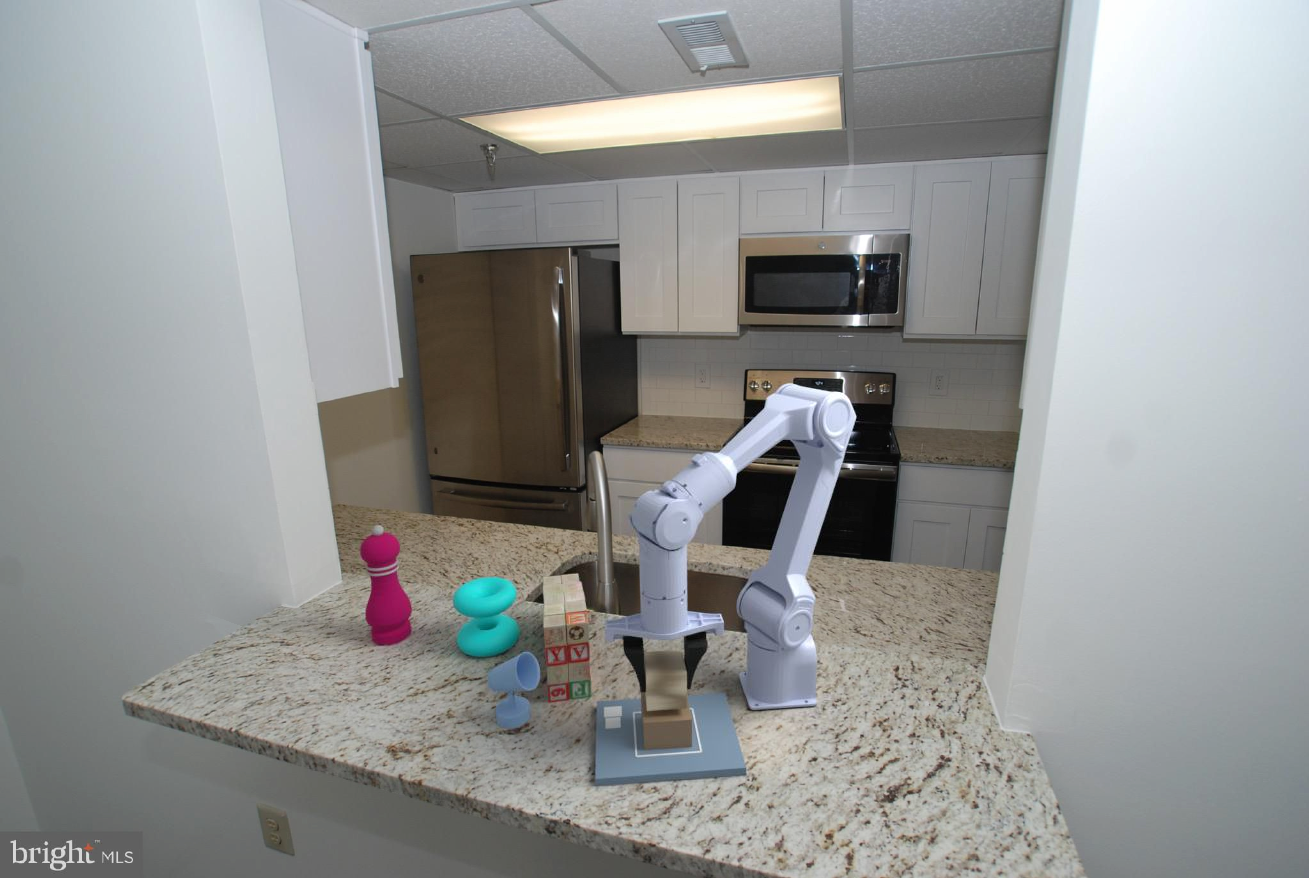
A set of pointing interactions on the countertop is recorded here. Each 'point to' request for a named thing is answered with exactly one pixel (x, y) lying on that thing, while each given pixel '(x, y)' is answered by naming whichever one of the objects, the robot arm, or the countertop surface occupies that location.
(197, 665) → the countertop surface
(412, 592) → the countertop surface
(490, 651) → the donuts
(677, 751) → the blueprint board
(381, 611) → the pepper mill
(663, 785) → the countertop surface
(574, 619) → the stack of blocks
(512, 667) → the spotlight
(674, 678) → the maple block
